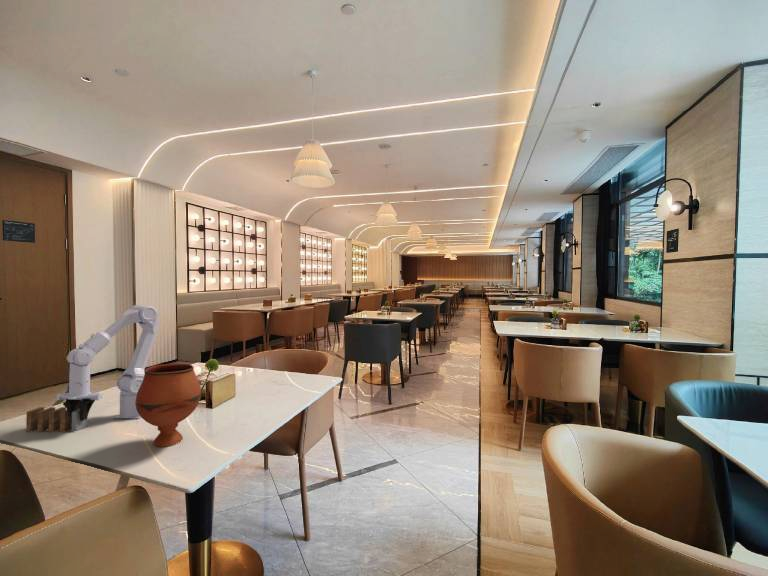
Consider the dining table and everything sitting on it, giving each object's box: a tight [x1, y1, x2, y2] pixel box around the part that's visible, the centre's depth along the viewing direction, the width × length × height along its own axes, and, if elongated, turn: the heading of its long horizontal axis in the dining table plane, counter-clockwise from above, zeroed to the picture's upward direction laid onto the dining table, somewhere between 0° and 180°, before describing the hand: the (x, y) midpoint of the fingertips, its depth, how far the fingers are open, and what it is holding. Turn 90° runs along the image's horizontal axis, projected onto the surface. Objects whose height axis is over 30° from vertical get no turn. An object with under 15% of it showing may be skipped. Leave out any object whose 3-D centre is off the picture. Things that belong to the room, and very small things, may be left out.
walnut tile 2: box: [59, 409, 72, 433], centre depth 128 cm, size 2×5×7 cm, turn 2°
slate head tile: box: [71, 409, 89, 433], centre depth 129 cm, size 2×5×7 cm, turn 2°
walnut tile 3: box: [48, 406, 67, 433], centre depth 128 cm, size 2×5×7 cm, turn 2°
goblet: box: [135, 363, 202, 448], centre depth 120 cm, size 19×19×25 cm
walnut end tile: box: [25, 406, 45, 433], centre depth 128 cm, size 2×5×7 cm, turn 2°
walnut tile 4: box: [37, 406, 56, 433], centre depth 128 cm, size 2×5×7 cm, turn 2°
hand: (79, 419), depth 129 cm, fingers open, 3 cm apart
